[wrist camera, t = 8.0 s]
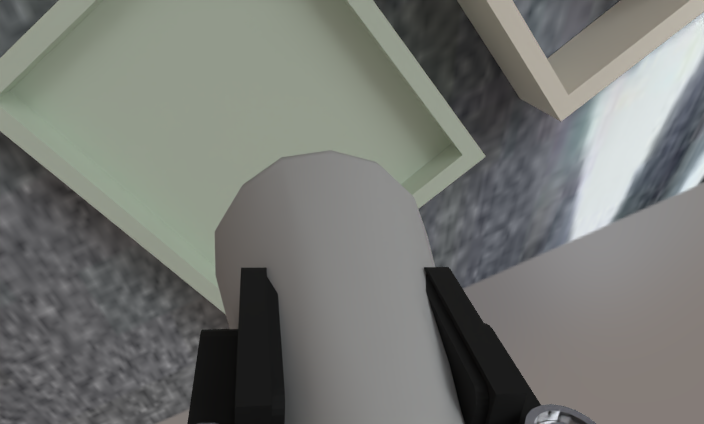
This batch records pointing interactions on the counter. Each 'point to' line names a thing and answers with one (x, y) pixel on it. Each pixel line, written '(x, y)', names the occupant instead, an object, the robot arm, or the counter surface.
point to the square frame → (576, 48)
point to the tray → (218, 108)
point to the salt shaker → (342, 290)
